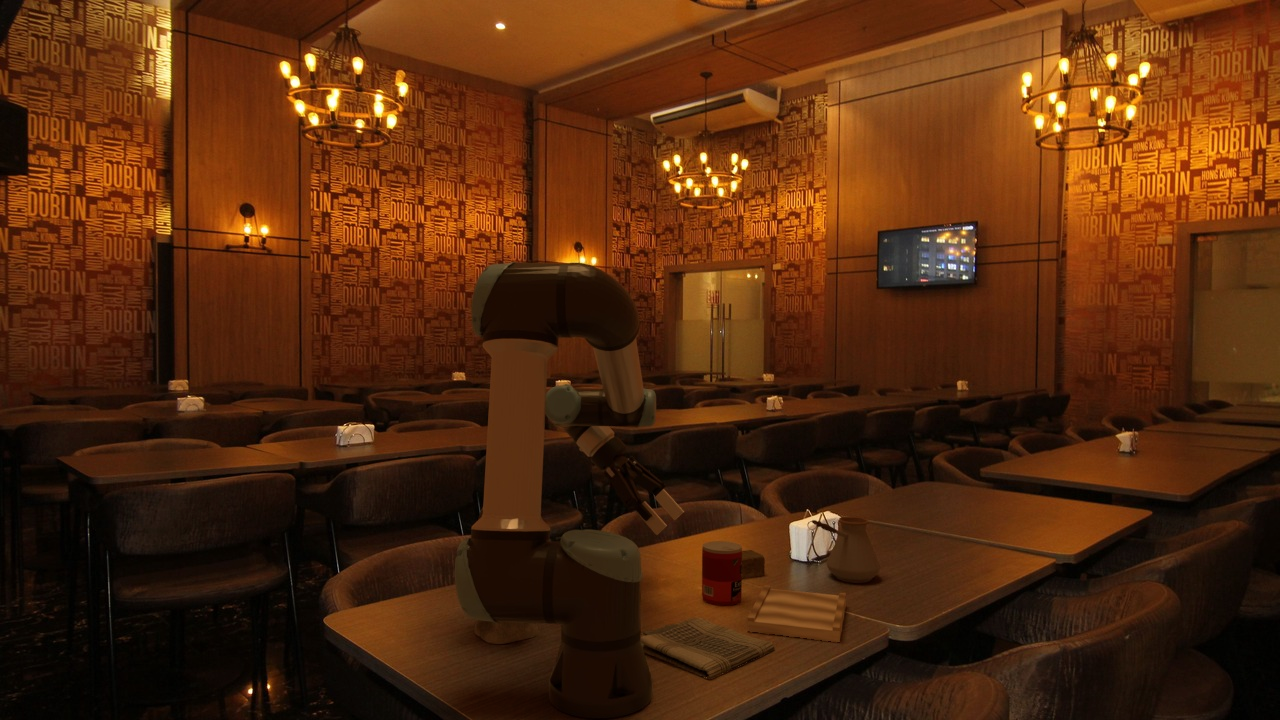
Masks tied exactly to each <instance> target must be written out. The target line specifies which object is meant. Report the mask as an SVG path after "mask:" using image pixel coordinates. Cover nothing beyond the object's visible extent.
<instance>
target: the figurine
mask: <svg viewBox="0 0 1280 720" xmlns="http://www.w3.org/2000/svg"><path fill="white" fill-rule="evenodd" d="M482 514H483V506H482V508H481V510H480V512H479V515H478V520H479V519H480V518H481V517H482ZM478 520H477V521H478ZM474 634H475V635H476V636H477V637H479V638H480V639H481V640H483V641H484V642H485V643H487V644H493V645H494V644H495V645H504V644H509V643H513V642H520V641H523V640H526V639H531V638H534V637H535V636H538V635H539V627H538V625H537V623H519V622H500V623H493V622H492V621H481V620H475V625H474Z"/></svg>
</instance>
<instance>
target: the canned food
mask: <svg viewBox="0 0 1280 720" xmlns="http://www.w3.org/2000/svg"><path fill="white" fill-rule="evenodd" d="M701 550H702V552H701V596H702V600H703V601H704V602H705V601H706V602H705V603H707V604H709V603H710V604H709V605H714V606H722V607H724V606H725V607H727V605H729V606H734V604H735V605H738V604H739V603H740V602H741V600H742V590H743V587H742V585H743V584H742V580H743V579H742V551H743V548H742V545H741V544H739V543H736V542H733V541H726V540H714V541H707V542H704V543H702V549H701Z"/></svg>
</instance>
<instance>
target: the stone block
mask: <svg viewBox="0 0 1280 720" xmlns="http://www.w3.org/2000/svg"><path fill="white" fill-rule="evenodd" d="M765 561H766V560H765V557H764V555H762V553H759V552H757V551H755V550H752V549H749V550H747V549H746V550H742V580H743V579H751V578H759V577H763V576H765V573H766V572H765V570H766V569H765V567H766V565H765V564H766V563H765Z"/></svg>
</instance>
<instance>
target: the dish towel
mask: <svg viewBox="0 0 1280 720" xmlns="http://www.w3.org/2000/svg"><path fill="white" fill-rule="evenodd" d="M642 634H643V635H641V645H642V648H643V651H644V654H646V655H648V656H651V657H653V656H654V658H656V659H658V658H659V660H660V661H663V660H664V661H663V662H666V663H668V662H669V663H668V664H671V665H673V664H674V665H673V666H675V665H676V666H675V667H678V668H680V669H682V670H685V671H687V672H690V671H691V672H690V673H692V672H693V673H692V674H695V675H696V674H698V675H697V676H699V675H700V676H699V677H701V676H703V677H702V678H704V677H705V678H706V677H707V679H706V680H708V679H709V680H712V678H713V679H715V678H717V677H719V676H718V675H720V676H721V674H722V673H724V674H726V673H728V672H727V671H729V670H731V669H733V670H734V668H735V669H737V668H736V667H738V666H740V665H742V664H744V665H746V664H747V663H746V662H748V663H750V662H749V661H751V660H753V659H755V660H757V659H756V658H758V657H760V656H762V655H764V654H767V653H768V654H770V653H771V652H770V651H772V650H774V649H775V645H774V643H773V642H772V641H768V640H764V639H760V638H755V637H753V636H750V635H747V634H744V633H741V632H739V631H736V630H734V629H732V628H729V627H726V626H723V625H720V624H717V623H714V622H711V621H710V620H708V619H706V618H705V617H690V618H688V619H684V620H682V621H680V622H677V623H673V624H671V623H670V624H667V625H664V626H662V627H658V628H655V629H651V630H645V631H643V632H642ZM775 650H776V649H775ZM775 650H774V651H775ZM769 652H770V653H769ZM772 652H773V651H772ZM768 654H767V655H768ZM764 656H765V655H764ZM762 657H763V656H762ZM760 658H761V657H760ZM758 659H759V658H758ZM753 661H754V660H753ZM751 662H752V661H751ZM745 663H746V664H745ZM742 666H743V665H742ZM740 667H741V666H740ZM738 668H739V667H738ZM731 671H732V670H731ZM725 672H726V673H725ZM729 672H730V671H729ZM722 675H723V674H722ZM716 676H717V677H716ZM714 677H715V678H714ZM705 678H704V679H705Z"/></svg>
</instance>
